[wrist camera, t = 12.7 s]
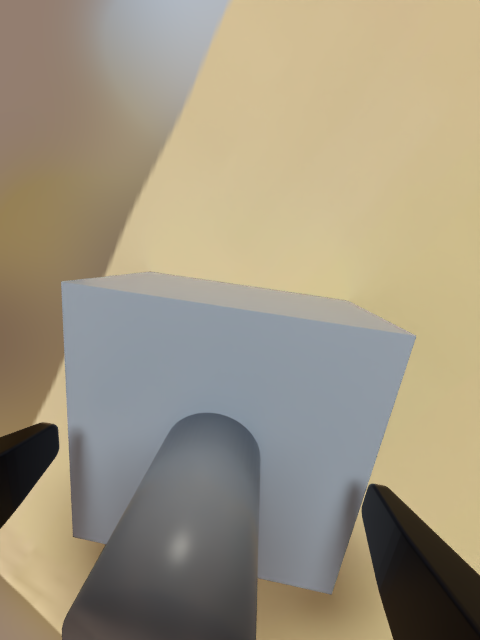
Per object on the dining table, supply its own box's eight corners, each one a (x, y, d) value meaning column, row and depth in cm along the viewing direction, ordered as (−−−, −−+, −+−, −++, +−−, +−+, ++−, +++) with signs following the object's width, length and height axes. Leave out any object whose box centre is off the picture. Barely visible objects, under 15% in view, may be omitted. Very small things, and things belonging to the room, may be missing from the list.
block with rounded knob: (347, 300, 12) (673, 467, 2) (306, 467, 15) (386, 876, 5) (149, 271, 13) (-215, 311, 3) (142, 436, 15) (-70, 743, 6)
